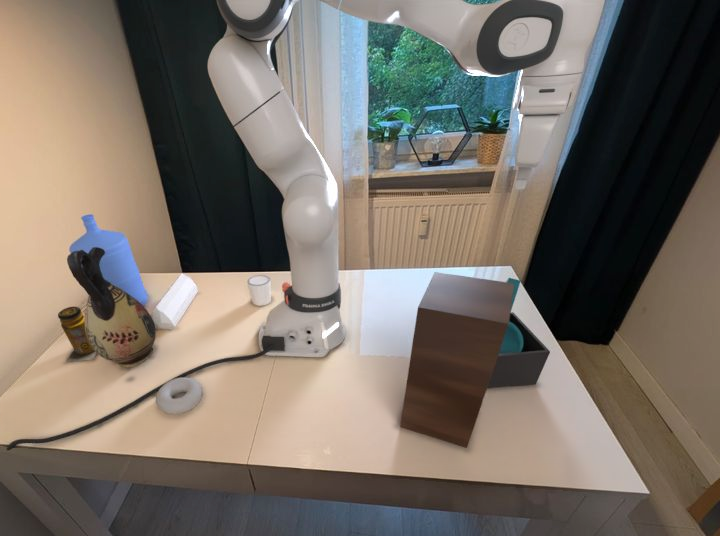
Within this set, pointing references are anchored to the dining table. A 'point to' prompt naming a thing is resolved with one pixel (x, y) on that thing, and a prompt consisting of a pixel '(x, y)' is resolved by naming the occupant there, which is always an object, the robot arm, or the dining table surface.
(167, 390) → the donut
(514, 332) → the cup
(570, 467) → the dining table surface
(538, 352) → the dark grey open box
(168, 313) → the white hexagonal prism
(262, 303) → the shot glass
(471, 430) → the walnut wood pedestal
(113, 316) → the ceramic jug
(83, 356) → the condiment
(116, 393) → the dining table surface
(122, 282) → the water jug
